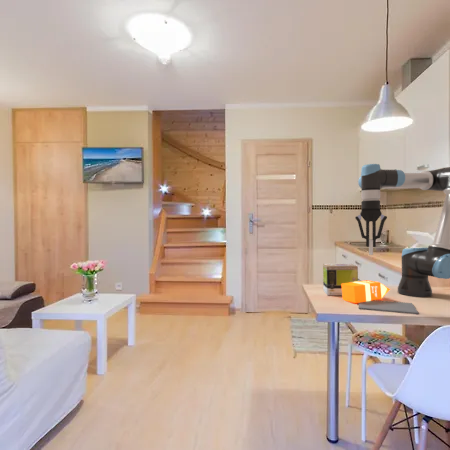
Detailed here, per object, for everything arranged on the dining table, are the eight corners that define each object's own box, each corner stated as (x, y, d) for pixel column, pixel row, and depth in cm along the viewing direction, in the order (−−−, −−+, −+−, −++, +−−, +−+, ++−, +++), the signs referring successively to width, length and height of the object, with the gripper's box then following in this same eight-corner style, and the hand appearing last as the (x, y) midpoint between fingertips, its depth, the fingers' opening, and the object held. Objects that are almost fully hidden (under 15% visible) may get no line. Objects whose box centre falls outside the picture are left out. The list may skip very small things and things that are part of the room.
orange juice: (354, 285, 149) (389, 280, 155) (341, 283, 157) (375, 278, 164) (355, 303, 149) (391, 297, 155) (342, 300, 157) (377, 294, 163)
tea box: (352, 291, 174) (352, 263, 174) (358, 296, 164) (358, 266, 164) (322, 291, 175) (322, 262, 175) (326, 295, 165) (326, 265, 165)
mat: (411, 304, 148) (411, 303, 148) (418, 314, 134) (418, 312, 134) (358, 300, 156) (358, 298, 156) (358, 308, 141) (358, 307, 141)
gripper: (386, 200, 147) (386, 253, 148) (354, 201, 152) (354, 253, 153) (388, 199, 140) (388, 255, 141) (354, 200, 145) (354, 255, 146)
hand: (370, 254), depth 147 cm, fingers closed
